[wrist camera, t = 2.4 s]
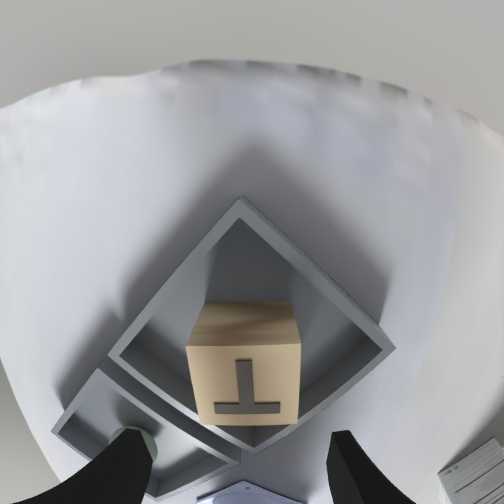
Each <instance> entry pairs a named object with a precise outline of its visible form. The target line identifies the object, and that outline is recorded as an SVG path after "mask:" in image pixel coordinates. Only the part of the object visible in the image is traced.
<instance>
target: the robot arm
mask: <svg viewBox="0 0 504 504" xmlns="http://www.w3.org/2000/svg"><path fill="white" fill-rule="evenodd" d="M152 465H153V459H152V457H151V454H150V452H149V450H148V448H147V445H146V443H145V440H144V438H143V436H142V433H141V431H140V430H136V429H130V428H126V429H125V430H124V431H123V432H122V433H121V434H120V435H119V436H118V437H116V438H115V439H114V440H113V441H112V442H111V443H110V444H109V445H108V446H107V447H106V448H105V449H104V450H103V451H102V452H101V453H100V454H98V455H97V456H96V457H95V458H94V459H93V460H92V461H91V462H89V463H88V464H87V465H86V466H84V467H83V468H82V469H81V470H79V471H78V472H77V473H75V474H74V475H73V476H71V477H70V478H68V479H67V480H65V481H64V482H62V483H61V484H59V485H57V486H56V487H53V488H52V489H50V490H48V491H46V492H43V493H41V494H39V495H37V496H35V497H32V498H29V499H26V500H23V501H20V502H17V503H13V504H141V502H142V500H143V497H144V494H145V491H146V489H147V486H148V483H149V479H150V475H151V470H152ZM326 465H327V473H328V481H329V487H330V491H331V495H332V498H333V502H334V504H416V503H415V502H413V501H412V500H411V499H409V498H408V497H407V496H406V495H404V494H403V493H402V492H401V491H400V490H399V489H398V488H397V487H395V486H394V485H393V484H392V483H391V482H390V481H389V480H388V479H387V478H386V477H385V475H384V474H383V473H382V472H381V471H380V470H379V469H378V468H377V467H376V465H375V464H374V463H373V462H372V461H371V459H370V458H369V457H368V456H367V454H366V453H365V452H364V450H363V449H362V448H361V446H360V445H359V444H358V442H357V441H356V439H355V438H354V436H353V435H352V433H351V432H350V431H349V430H344V431H337V432H332V435H331V441H330V446H329V452H328V457H327V462H326ZM196 504H303V503H300V502H297V501H294V500H291V499H288V498H286V497H283V496H280V495H278V494H275V493H272V492H270V491H267V490H265V489H263V488H260V487H258V486H255V485H253V484H251V483H249V482H246V481H241V482H238V483H236V484H234V485H232V486H230V487H228V488H226V489H223V490H221V491H219V492H217V493H214V494H212V495H210V496H207V497H205V498H202V499H200V500H198V501H196Z"/></svg>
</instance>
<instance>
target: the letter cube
mask: <svg viewBox="0 0 504 504" xmlns="http://www.w3.org/2000/svg"><path fill="white" fill-rule="evenodd" d="M186 352H187V358H188V364H189V369H190V375H191V380H192V385H193V391H194V396H195V401H196V406H197V410H198V415H199V420H200V424H203V425H234V426H251V425H282V424H297V422H298V406H299V386H300V362H301V341H300V337H299V333H298V328H297V324H296V320H295V316H294V312H293V308H292V304H291V300H281V301H256V302H218V303H204V305H203V307H202V309H201V312H200V314H199V316H198V318H197V321H196V323H195V325H194V327H193V330H192V332H191V334H190V336H189V339H188V341H187V343H186Z"/></svg>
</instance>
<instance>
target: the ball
mask: <svg viewBox="0 0 504 504" xmlns="http://www.w3.org/2000/svg"><path fill="white" fill-rule="evenodd" d="M126 428H130V429H136V430H140V431H141V433H142V436H143V438H144V440H145V443H146V445H147V448H148V450H149V452H150V454H151V457H152V459H153V464H154V463H155V461H156V459H157V455H158V449H157V445H156V442H155V440H154V439H153V437H152V436H151V435H150V434H149V433H148V432H146V431H145V430H143V429H141V428H139V427H135V426H125V427H121V428H119V429H117V430H116V431H115V432H114V433H113V434H112V435H111V437H110V439H109V444H110V443H111V442H112V441H113V440H114V439H115V438H116V437H118V436H119V435H120V434H121V433H122V432H123V431H124V430H125V429H126ZM109 444H108V445H109Z"/></svg>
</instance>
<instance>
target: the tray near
mask: <svg viewBox="0 0 504 504" xmlns="http://www.w3.org/2000/svg"><path fill="white" fill-rule="evenodd" d="M281 300H291V304H292V308H293V312H294V316H295V320H296V324H297V328H298V333H299V337H300V341H301V362H300V386H299V406H298V422H297V424H282V425H251V426H234V425H203V424H201V425H202V426H204V427H206V428H207V429H209V430H211V431H212V432H214V433H215V434H217V435H219V436H221V437H222V438H224V439H226V440H227V441H229V442H231V443H233V444H235V445H236V446H238V447H240V448H242V449H244V450H245V451H247V452H249V453H251V454H253V455H256V454H257V453H259V452H261V451H262V450H264V449H266V448H267V447H269V446H270V445H272V444H274V443H275V442H277V441H278V440H280V439H282V438H283V437H285V436H286V435H288V434H289V433H291V432H292V431H294V430H295V429H297V428H298V427H300V426H301V425H302V424H304V423H305V422H307V421H308V420H310V419H311V418H312V417H314V416H315V415H317V414H318V413H319V412H321V411H322V410H323V409H325V408H326V407H327V406H329V405H330V404H331V403H333V402H334V401H335V400H337V399H338V398H339V397H340V396H342V395H343V394H344V393H345V392H347V391H348V390H349V389H350V388H352V387H353V386H354V385H355V384H356V383H358V382H359V381H360V380H361V379H362V378H364V377H365V376H366V375H367V374H368V373H369V372H371V371H372V370H373V369H374V368H375V367H376V366H377V365H378V364H380V363H381V362H382V361H383V360H384V359H385V358H386V357H387V356H388V355H389V354H390V353H392V352H393V351H394V350H395V349H396V347H395V346H394V345H393V343H392V342H391V341H390V339H389V338H388V337H387V335H386V334H385V333H384V331H383V330H382V329H381V328H380V326H379V325H378V324H377V323H376V322H375V321H374V320H373V319H372V318H371V317H370V316H369V315H368V314H367V313H366V312H365V311H364V310H363V309H362V308H361V307H360V306H359V305H358V304H357V303H356V302H355V301H354V300H353V299H352V298H351V297H350V296H349V295H348V294H347V293H346V292H345V291H343V290H342V289H341V288H340V287H339V286H338V285H337V284H336V283H335V282H334V281H333V280H332V279H331V278H330V277H329V276H328V275H327V274H326V273H325V272H324V271H323V270H322V269H321V268H320V267H319V266H318V265H316V264H315V263H314V262H313V261H312V260H311V259H310V258H309V257H308V256H307V255H306V254H305V253H304V252H303V251H302V250H301V249H300V248H298V247H297V246H296V245H295V244H294V243H293V242H292V241H291V240H290V239H289V238H288V237H287V236H286V235H285V234H283V233H282V232H281V231H280V230H279V229H278V228H277V227H276V226H275V225H274V224H273V223H272V222H271V221H269V220H268V219H267V218H266V217H265V216H264V215H263V214H262V213H261V212H260V211H258V210H257V209H256V208H255V207H254V206H253V205H252V204H251V203H250V202H249V201H247V200H246V199H245V198H244V197H243V196H241V197H240V198H239V199H238V200H237V201H236V202H235V203H234V204H233V205H232V206H231V207H230V209H229V210H228V211H227V212H226V213H225V214H224V215H223V216H222V217H221V219H220V220H219V221H218V222H217V223H216V224H215V225H214V227H213V228H212V229H211V230H210V231H209V232H208V233H207V234H206V236H205V237H204V238H203V239H202V240H201V241H200V242H199V244H198V245H197V246H196V247H195V248H194V249H193V251H192V252H191V253H190V254H189V255H188V256H187V257H186V259H185V260H184V261H183V262H182V263H181V264H180V266H179V267H178V268H177V269H176V270H175V272H174V273H173V274H172V275H171V276H170V277H169V279H168V280H167V281H166V282H165V283H164V285H163V286H162V287H161V288H160V289H159V291H158V292H157V293H156V294H155V295H154V297H153V298H152V299H151V300H150V302H149V303H148V304H147V305H146V306H145V308H144V309H143V310H142V311H141V313H140V314H139V315H138V316H137V318H136V319H135V320H134V321H133V322H132V324H131V325H130V326H129V327H128V329H127V330H126V331H125V332H124V334H123V335H122V336H121V338H120V339H119V340H118V341H117V343H116V344H115V345H114V346H113V348H112V349H111V350H110V352H109V353H108V354H107V355H108V356H109V357H110V358H111V359H112V360H114V361H115V362H116V363H117V364H118V365H120V366H121V367H122V368H123V369H124V370H126V371H127V372H128V373H129V374H131V375H132V376H133V377H134V378H136V379H137V380H138V381H139V382H141V383H142V384H143V385H145V386H146V387H147V388H149V389H150V390H151V391H153V392H154V393H155V394H157V395H158V396H159V397H161V398H162V399H164V400H165V401H166V402H168V403H169V404H171V405H172V406H174V407H175V408H176V409H178V410H179V411H181V412H182V413H184V414H185V415H187V416H188V417H190V418H191V419H193V420H195V421H196V422H198V423H199V424H200V420H199V415H198V410H197V406H196V401H195V396H194V391H193V385H192V380H191V375H190V369H189V364H188V358H187V352H186V343H187V341H188V339H189V336H190V334H191V332H192V330H193V327H194V325H195V323H196V321H197V318H198V316H199V314H200V312H201V309H202V307H203V305H204V303H218V302H256V301H281Z"/></svg>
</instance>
